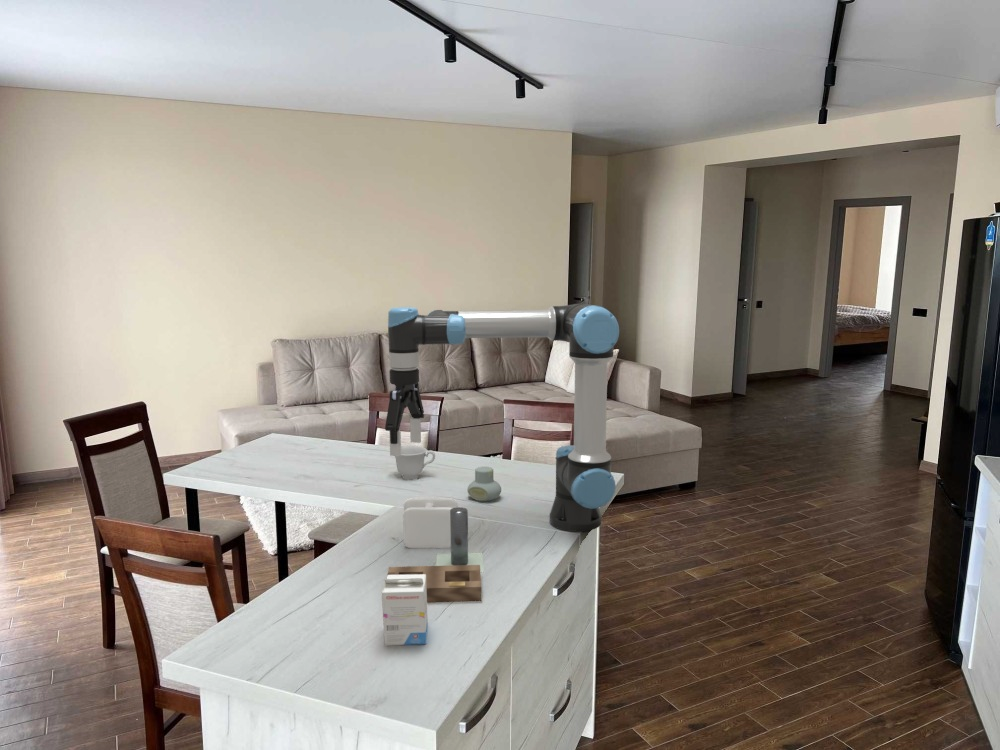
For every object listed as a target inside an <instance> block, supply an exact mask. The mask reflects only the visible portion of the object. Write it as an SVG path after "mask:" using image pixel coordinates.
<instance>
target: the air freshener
mask: <svg viewBox="0 0 1000 750" xmlns="http://www.w3.org/2000/svg"><path fill="white" fill-rule="evenodd" d="M474 474H475V475H474V480H473V481H472V482H471V483H469V484H468V486H467V490H466V491H467V493H468V496H469V497H471V498H472V499H474V500H475V501H477V502H489V501H493V500H495V499H497V498H498V497H499V496H500V494H501V493H502V486H501V485H500V483H499V482H497V481H496V480H494V468H493V467H491V466H478V467H476V468H475V472H474Z"/></svg>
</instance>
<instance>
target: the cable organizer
mask: <svg viewBox="0 0 1000 750" xmlns="http://www.w3.org/2000/svg"><path fill="white" fill-rule="evenodd" d="M458 504H459V503H458V501H457V500H456V499H455V498H453V497H410V498H407V499H406V500H405V501H404V503H403V514H402V525H403V526H402V527H403V529H402V530H403V532H402V533H403V545H404V546H405V547H406V548H408V549H451V535H450V510H451V509H452V508H457V507H459V505H458Z"/></svg>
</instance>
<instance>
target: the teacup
mask: <svg viewBox="0 0 1000 750" xmlns="http://www.w3.org/2000/svg"><path fill="white" fill-rule="evenodd" d="M429 454H431V455H432V458H431V459H430V460H428V461H426V462H425V457H426V458H428V456H429ZM394 458H395V463H396V469H397V472H398V473H399V474H400V475H402V479H404V480H409V481H410V480H412V481H413V480H416V479H418V478H419V474H421V473H422V472H423V470H424V468H425V466H427V465H430V464H432V463H433V462H434V461H435V459H436V454H435V451H434V450H431V449H430V450H428V449H427V448H426V447H423V446H420V445H404V446H401V456H394Z"/></svg>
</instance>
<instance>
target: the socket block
mask: <svg viewBox="0 0 1000 750" xmlns="http://www.w3.org/2000/svg"><path fill="white" fill-rule="evenodd" d="M413 574H426V588H427V604H428V603H430V604H431V603H432V604H433V603H434V604H435V603H465V602H466V603H467V602H468V603H469V602H482V578H481V577H482V576H481V575H482V573H480V565H452V566H436V565H422V566H420V565H418V566H388V570H387V574H386V576H387V575H413Z"/></svg>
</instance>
